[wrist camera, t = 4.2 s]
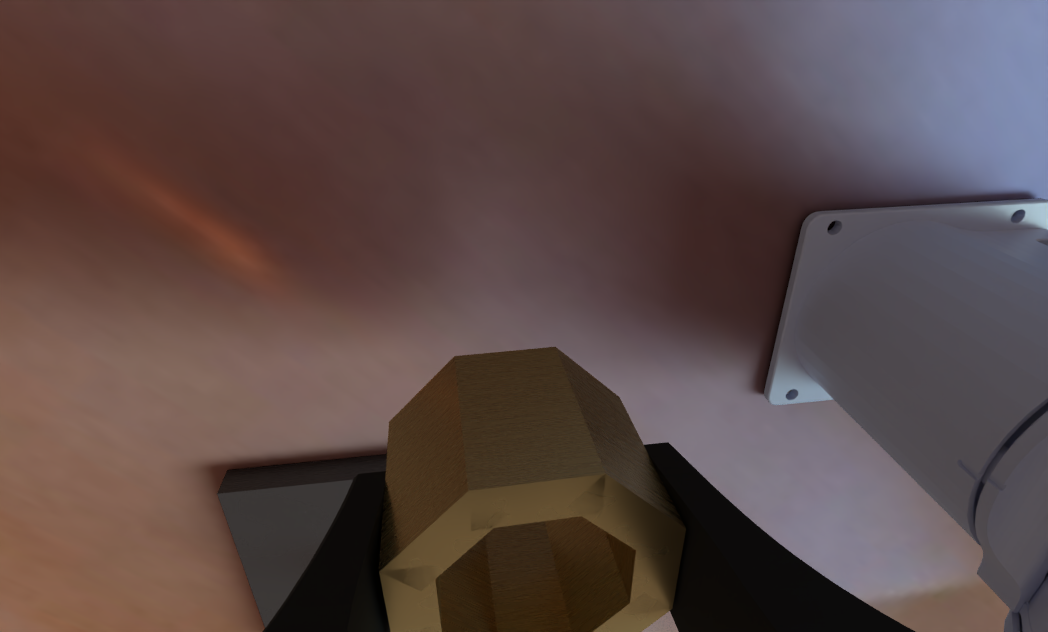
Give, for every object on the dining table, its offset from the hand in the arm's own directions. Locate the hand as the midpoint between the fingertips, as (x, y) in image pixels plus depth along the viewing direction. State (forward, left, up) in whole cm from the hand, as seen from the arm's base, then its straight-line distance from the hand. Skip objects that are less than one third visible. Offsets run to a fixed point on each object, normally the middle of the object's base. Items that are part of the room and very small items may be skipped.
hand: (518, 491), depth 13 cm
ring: (0, 0, -2) cm, 2 cm away
